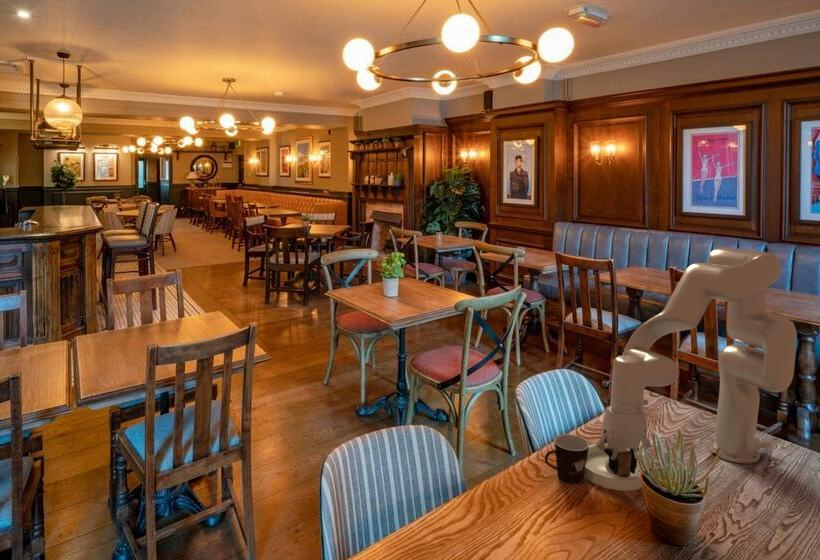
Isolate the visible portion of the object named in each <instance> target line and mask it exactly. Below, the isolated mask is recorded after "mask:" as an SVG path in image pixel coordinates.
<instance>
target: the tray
mask: <svg viewBox="0 0 820 560" xmlns="http://www.w3.org/2000/svg"><path fill="white" fill-rule="evenodd" d="M596 444H597V443H592V444H589V449H588V454H587V460H586V465H585V470H584V476H583V478H585V479H587V480H588V481H589V482H590V483H592V484H594V485H597V486H600V487H602V488H605V489H611V490H616V491H619V492H620V491H621V492H623V491H624V492H625V491H626V492H627V491H637V490H640V489H642V488H641V483H640V472H639V467H638V465H636V469H635V473H634V474H632V473H631V472H630V476H629V477H627V478H623V477H619V476H617V475H615V474H614V473H613V472H612V471H611V469H609V466H608V463H609V456H608V455H607V454H606V453H605V452H604V451H602V450H600V449H599V448H598V447H597V446H596ZM605 446H606V447H607V448H608V446H607V443H606V444H605ZM627 450H629V449H627ZM629 451H630V450H629Z"/></svg>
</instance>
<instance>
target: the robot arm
mask: <svg viewBox="0 0 820 560" xmlns="http://www.w3.org/2000/svg"><path fill="white" fill-rule="evenodd" d="M781 273H782V263H781V260H780V258H778V256H776V255H774V254H773V253H771V252H767V251H766V252H765V251H758V250H750V249H742V248H736V247H717V248H715V249H713V250H712V251H710V252H709V254H708V256H707V262H695V263H692V264H690V265H689V266H688V267H687V268H686V269H685V270H684V272H683V273H682V276H681V278H680V279H679V282H678V283H677V285H676V286H675V288H674V290H673V292H672V294H671V296H670V298H669V299H668V301H667V303H666V305H665V306H664V308H663V310H662V311H660V312H659V313H658V314H655V315H654V316H653V317H651V318H650V319H648V320H646V321H645V322H644V323H642V324H641V325H640V326H639V327H638V328H636V329H635V331H634V332H632V335H631V336H630V338H629V339H628V341H627V343H626V345H625V347H624V349H623V352H622V355H618V356H616V357H615V358H614V359H613V363H612V372H611V373H612V375H611V377H612V378H611V389H610V392H611V393H610V406H607V407H606V410H605V412H604V416H603V420H602V428H601V436H600V439H599V440H598V441H597V443H595V444H596V446H597V447H598V448H599V449H600V450H602V451H604V452H605V453H606V454H607V455H608V456H609V463H608V466H609V469H611V471H612V472H613V473H614V474H617V470H618V460H617V459H616V457H617V453H618V449H629V450H630V451H631V453H632V456H631V470H630V472H631V473H632V474H634V473H635V469H636V465H637V458H636V456H635V454H634V453H636V452H638V451H639V445H640V439H642V441H643V445H644V447H645V449H646V450H648V449H650V448H651V447H652V444H651V443H650V441H649V440H650V439H648V436H647V435H648V428H647V426H648V425H647V417H646V412H645V410H644V406H648V405H649V401H648V400H647V399H644V395H645V388H646V387H666V386H670V385H672V384H674V382H676V381H677V379H678V377H679V374H680V370H679V366H678V365H677V363H676V362H675V361H674V360H673V359H671V358H669V357H667V356H664V355H662V354H660V353H659V354H658V353H657V352H654V351H651V347H652V346H653V345H654V343H656V341H657V340H659V339H660V338H662V337H664V336H667V335H668V334H673V333H676V332H677V333H678V332H682V331H688V330H693V329H695V328H697V327H698V325H699V323H700V322H701V320H702V318H703V316H704V315H705V312H706V310H707V309H708V306H710V303H711V301H712V300H713V299H714V300H719V301H722V302H727V312H726V333H727V335H728V336H729V337H730V338H731V339H732V340H733V341H736V342H739V343H742V344H737V343H735V344H733V343H732V344H729V345H727V346H725V347H724V348H722V349H721V351H720V352H719V356H718V361H717V362H718V372H719V394H718V402H717V411H716V413H717V414H716V422H715V431H714V438H712V439H710V440H709V441H708V442H707V449H708V450H709V451H710V452H711V454H713V453H715V452H716V450H717V449H718V448H720V449H721V456H720V457H719V458H720V459H723V460H726V461H728V462H732V463H738V464H747V465H749V464H753V463H757V462H758V461H759V460H760V457H761V456H760V455H761V454H760V452H759V450H760V449H768V448H769V449H770V448H771V446H772V444H771V442H770V441H769V440H760V438H759V437H756V434H757V433H756V432H757V424H758V415H759V407H760V397H761V396H760V393H759V392H760V391H759V388H760V389H762V390H765V391H767V392H771V393H781V392H784V391H785V390H787V389H788V388H789V386H790V385H791V384H792V381H793V378H794V375H795V373H794V372H795V364H796V363H795V362H796V353H797V350H796V349H797V339H798V338H797V336H798V335H797V328H796V327H795V323H793V322H792V321H791V320H790V318H787V317H786V316H783V315H780V314H774V313H770V312H768V311H767V309H766V305H767V304H766V303H767V302H766V297H767V294H766V288H768V287H770V286H771V285H773V284H774V283H775V282H776V281H777V280H778V279H779V278H780V275H781ZM743 344H745V345H743ZM747 345H749V346H747ZM751 346H752V347H751ZM754 347H756V348H754ZM758 348H759V349H758ZM761 349H762V350H761ZM605 444H607V446H608V448H607V447H606V446H605Z"/></svg>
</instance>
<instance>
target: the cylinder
mask: <svg viewBox="0 0 820 560" xmlns="http://www.w3.org/2000/svg"><path fill="white" fill-rule="evenodd" d="M631 456H632V453H631V451H629V450H627V449H618V453H617V457H616V459H617V460H618V470H617V474H615V475H617V476H619V477H623V478H627V477H629V476H630V470H631Z"/></svg>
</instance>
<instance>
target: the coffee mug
mask: <svg viewBox="0 0 820 560" xmlns="http://www.w3.org/2000/svg"><path fill="white" fill-rule="evenodd" d="M589 445H590V442H589V441H588V440H587V439H586V438H584V437H582V436H579V435H577V434H570V433H568V434H559V435H557V436H556V437H555V438H554V448H555V450H554V449H553V450H550V451H548V452H547V453H546V454H545V456H544V463H545V464H546V465H548V466H549V468H552V469H554V470H556V472H557V474H556V475H557V479H559V480H560V481H561V482H563V483H565V484H569V485H579V484H580V483H582V482H583V480H584V470H585V465H586V460H587V454H588V449H589ZM551 454H555V460H556V461H555V463H556V466H554V465H552V464H550V463H549V461H548V457H549V456H550V455H551Z"/></svg>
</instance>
